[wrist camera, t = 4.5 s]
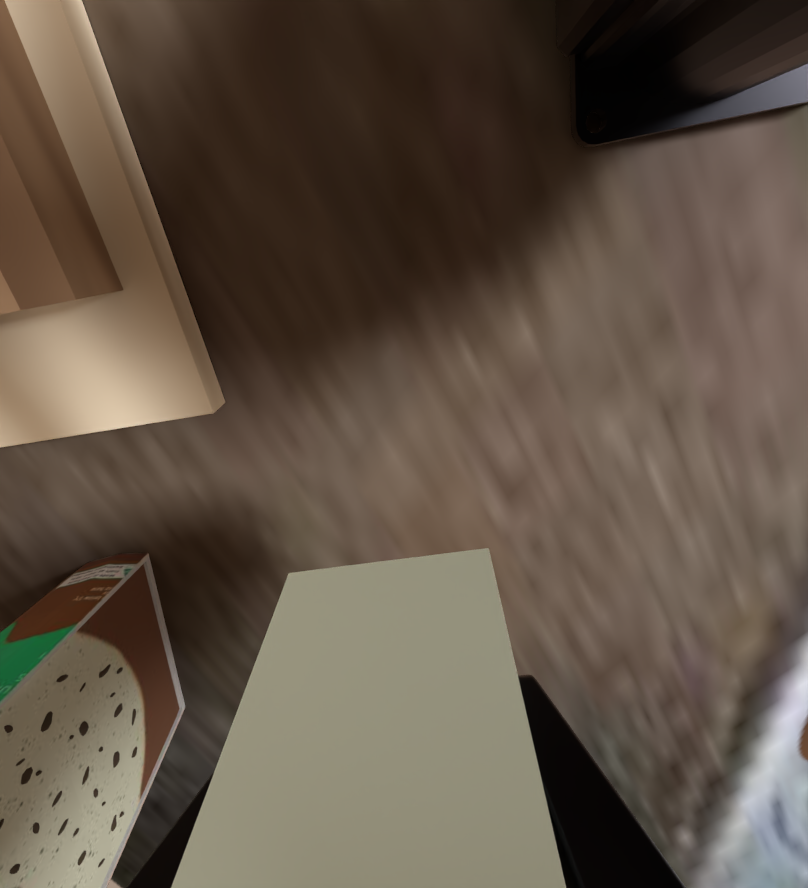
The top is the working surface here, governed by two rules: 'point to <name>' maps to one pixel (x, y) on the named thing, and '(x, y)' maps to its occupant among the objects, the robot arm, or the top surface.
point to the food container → (82, 723)
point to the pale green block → (380, 742)
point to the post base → (82, 249)
